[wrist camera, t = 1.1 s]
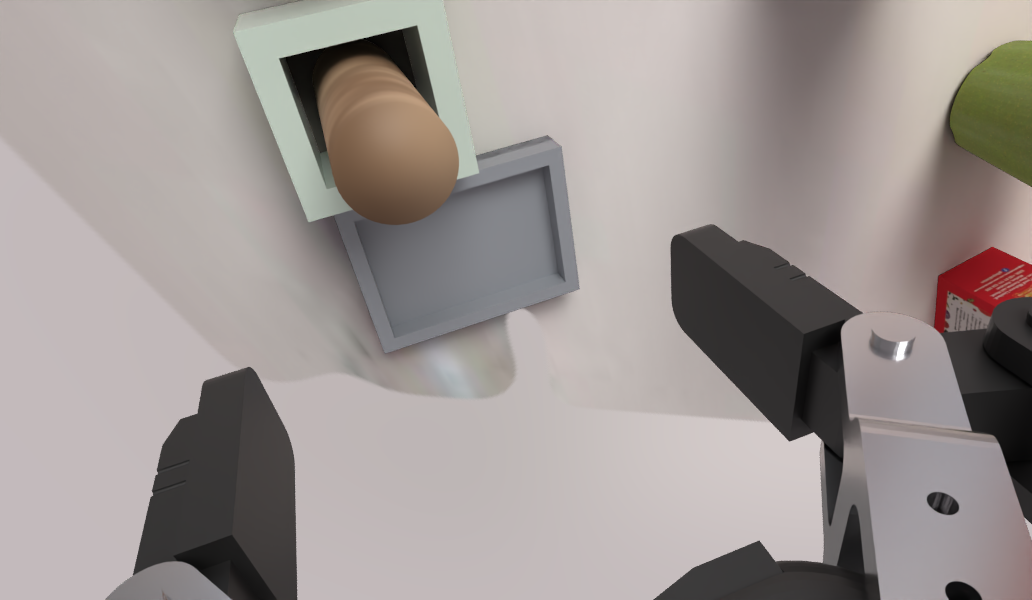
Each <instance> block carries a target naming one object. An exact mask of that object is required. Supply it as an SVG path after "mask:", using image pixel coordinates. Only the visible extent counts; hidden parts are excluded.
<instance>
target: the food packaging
mask: <svg viewBox="0 0 1032 600" xmlns="http://www.w3.org/2000/svg"><path fill="white" fill-rule="evenodd" d="M1019 297H1032V265H1031V264H1029V263H1026V262H1024V261H1022V260H1020V259H1018V258H1016V257H1013V256H1011V255H1009V254H1007V253H1005V252H1003V251H1000V250H998V249H996V248H994V247H991V248H990V249H988V250H986V251H984V252H982V253H980V254H978V255H977V256H975V257H973V258H971V259H969V260H967V261H965V262H964V263H962V264H960V265H958V266H956V267H954V268H952V269H951V270H949V271H947V272H945V273H943V274H941V275H939V276H938V288H937V301H936V313H935V326H934V328H935V329H936V330H937V331H938V332H939V333H944V332H955V331H965V330H976V329H986V328H987V327H988V324H989V321H990V318H991V315H992V312H993V310H994V308H995V307H996V306H997V305H998V304H1000V303H1001V302H1003V301H1006V300H1009V299H1013V298H1019Z"/></svg>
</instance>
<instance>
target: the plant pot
mask: <svg viewBox="0 0 1032 600" xmlns="http://www.w3.org/2000/svg"><path fill="white" fill-rule="evenodd" d="M950 128H951V130H952V132H953V135H954V138H955V143H956V144H957V145H959V146H960V147H962V148H964V149H965V150H967V151H969V152H970V153H972V154H974V155H976V156H978V157H979V158H981V159H983V160H985V161H987V162H988V163H990V164H992V165H994V166H995V167H997V168H999V169H1001V170H1003V171H1004V172H1006V173H1008V174H1010V175H1011V176H1013V177H1015V178H1017V179H1018V180H1020V181H1022V182H1024V183H1026V184H1027V185H1029V186H1031V187H1032V41H1013V42H1009V43H1006V44H1004V45H1001V46H999V47H998V48H996V49H994V50H993V52H992V54H991V55H990V56H989V57H988V58H987V59H986V60H985V61H983V62H982V63H981V64H979V65H978V66H976V67H975V68H973V70H972V71H971V72H970V73H969V75H968V76H967V78H966V79H965V81H964V82H963V84H962V86H961V88H960V90H959V92H958V94H957V96H956V98H955V101H954V104H953V107H952V110H951V115H950Z"/></svg>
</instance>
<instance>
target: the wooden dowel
mask: <svg viewBox="0 0 1032 600" xmlns="http://www.w3.org/2000/svg"><path fill="white" fill-rule="evenodd" d="M313 89H314V93H315V98H316V102H317V107H318V111H319V116H320V120H321V125H322V129H323V134H324V138H325V143H326V147H327V152H328V156H329V161H330V165H331V169H332V174H333V178H334V182H335V185H336V187H337V189H338V192H339V193H340V195H341V197H342V198H343V200H344V201H345V202H346V203H347V204H348V205H349V206H350V207H351V208H352V209H353V210H354V211H355V212H357V213H358V214H359V215H361V216H363V217H365V218H366V219H369V220H371V221H374V222H377V223H381V224H387V225H402V224H409V223H413V222H416V221H419V220H421V219H423V218H425V217H427V216H429V215H430V214H432V213H433V212H435V211H436V210H437V209H438V208H439V207H441V205H442V204H443V203H444V202H445V201H446V200H447V198H448V197H449V195H450V194H451V192H452V190H453V188H454V186H455V183H456V180H457V176H458V171H459V155H458V149H457V146H456V143H455V140H454V138H453V136H452V134H451V132H450V131H449V129H448V128H447V127H446V125H445V124H444V123H443V122H442V120H441V119H440V118H439V117H438V116H437V114H436V113H435V112H434V111H433V109H432V108H431V107H430V106H429V104H428V103H427V102H426V101H425V100H424V98H423V97H422V96H421V95H420V93H419V92H418V91H417V90H416V88H415V87H414V86H413V85H412V84H411V82H410V81H409V80H408V79H407V77H406V76H405V75H404V74H403V72H402V71H401V70H400V69H399V68H398V66H397V65H396V64H395V63H394V61H393V60H392V59H391V58H390V57H389V55H388V54H387V53H386V52H385V51H384V50H383V49H382V48H380V47H379V46H377V45H376V44H374V43H372V42H369V41H367V40H363V39H358V40H354V41H349V42H345V43H341V44H337V45H333V46H329V47H327V48H326V49H325V50H324V51H323V52H322V54H321V55H320V56H319V58H318V60H317V62H316V64H315V67H314V71H313Z"/></svg>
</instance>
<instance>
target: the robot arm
mask: <svg viewBox="0 0 1032 600" xmlns="http://www.w3.org/2000/svg"><path fill="white" fill-rule="evenodd" d="M671 294H672V307H673V311H674V314H675V317H676V319H677V322H678V324H679V325H680V327H681V328H682V330H683V331H684V332H685V333H686V334H687V335H688V336H689V337H690V338H691V339H692V340H693V341H694V343H695V344H696V345H697V346H698V347H699V348H700V349H701V350H702V351H703V352H704V353H705V354H706V355H707V356H708V357H709V358H710V359H711V360H712V361H713V362H714V363H715V364H716V365H717V367H718V368H719V369H720V370H721V371H722V372H723V373H724V374H725V375H726V376H727V377H728V378H729V379H730V380H731V381H732V382H733V383H734V384H735V385H736V386H737V387H738V388H739V389H740V391H741V392H742V393H743V394H744V395H745V396H746V397H747V398H748V399H749V400H750V401H751V402H752V403H753V404H754V405H755V406H756V407H757V408H758V409H759V410H760V411H761V412H762V413H763V415H764V416H765V417H766V418H767V419H768V420H769V421H770V422H771V423H772V424H773V425H774V426H775V427H776V428H777V429H778V430H779V431H780V432H781V433H782V434H783V435H784V436H785V437H786V438H787V440H788V441H792V440H795V439H797V438H800V437H803V436H805V435H808V434H810V433H813V432H814V433H815V434H816V435H817V436H818V437H819V438H820V439H821V440H822V442H821V448H820V470H821V491H822V511H823V532H824V555H823V563H818V562H809V561H777V562H775V560H774V559H773V558H772V557H771V555H770V554H769V553H768V551H767V550H766V549H765V547H764V546H763V545H762V544H761V542H760V541H757V542H755V543H752V544H750V545H747V546H745V547H743V548H740V549H738V550H735V551H733V552H731V553H728V554H726V555H723V556H721V557H719V558H716V559H714V560H712V561H709V562H706V563H704V564H702V565H699V566H697V567H694V568H693V569H691V570H690V571H689V572H688V573H686V574H685V575H684V576H683V577H681V578H680V579H679V580H677V581H676V582H675V583H674V584H672V585H671V586H670V587H669V588H667V589H666V590H665V591H664V592H663V593H661V594H660V595H659V596H657V597H656V598H655V599H654V600H1032V540H1031V537H1030V534H1029V531H1028V528H1027V525H1026V522H1025V519H1024V518H1026V519H1027V520H1028V521H1029V522H1030V523H1031V524H1032V297H1019V298H1013V299H1009V300H1006V301H1003V302H1001V303H1000V304H998V305H997V306H996V307H995V308H994V310H993V312H992V315H991V318H990V321H989V324H988V327H987V328H986V329H976V330H965V331H955V332H944V333H939V332H938V331H937V330H936V329H935V328H933V327H932V326H930V325H929V324H927V323H925V322H923V321H921V320H919V319H916V318H914V317H911V316H907V315H904V314H899V313H893V312H869V313H862V312H861V311H859V310H858V309H856V308H855V307H853V306H852V305H850V304H849V303H847V302H846V301H845V300H843V299H842V298H840V297H839V296H837V295H836V294H834V293H833V292H832V291H830V290H829V289H827V288H826V287H824V286H823V285H821V284H820V283H818V282H817V281H816V280H814V279H813V278H811V277H810V276H808V277H806V275H805V273H804V272H803V271H801V270H800V269H798V268H797V267H795V266H794V265H792V266H790V264H789V262H788V261H787V260H785V259H784V258H782V257H781V256H779V255H778V254H776V253H775V252H773V251H772V250H771V249H768V248H765V247H762V246H759V245H756V244H753V243H750V242H747V241H744V240H743V241H740V242H738V241H736V240H735V239H734V238H732V237H731V236H729V235H728V234H727V233H725V232H724V231H723V230H721V229H720V228H718V227H717V226H715V225H712V224H710V225H706V226H703V227H700V228H697V229H694V230H690V231H687V232H684V233H681V234H678V235H675V236H674V237H673V239H672V241H671ZM294 465H295V463H294V455H293V450H292V446H291V442H290V439H289V436H288V433H287V431H286V429H285V427H284V425H283V423H282V421H281V419H280V417H279V415H278V413H277V412H276V409H275V408H274V406H273V404H272V402H271V400H270V398H269V396H268V394H267V393H266V391H265V389H264V387H263V385H262V383H261V381H260V379H259V377H258V376H257V374H256V372H255V371H254V370H253V369H252V368H251V367H247V368H244V369H241V370H238V371H234V372H231V373H228V374H225V375H222V376H219V377H215V378H212V379H209V380H206V381H204V383H203V386H202V391H201V397H200V402H199V409H198V414H195V415H192V416H189V417H186V418H183V419H180V421H179V422H178V424H177V425H176V426H175V428H174V429H173V431H172V432H171V434H170V435H169V437H168V438H167V439H166V441H165V443H164V444H163V446H162V450H161V454H160V459H159V463H158V468H157V472H158V475H156V476H155V481H154V485H153V489H152V492H153V496H152V497H151V499H150V502H149V507H148V511H147V516H146V520H145V524H144V529H143V533H142V538H141V542H140V546H139V551H138V555H137V559H136V564H135V569H134V573H133V576H132V577H130V578H129V579H127V580H126V581H125V582H124V583H122V584H121V585H120V586H118V587H117V588H116V589H115V590H114V591H113V592H112V593H111V594H110V595H109V596H108V597H107V598H106V600H297V564H296V515H295V514H296V513H295V466H294Z"/></svg>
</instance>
